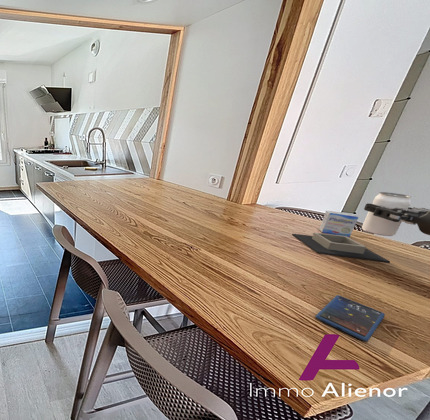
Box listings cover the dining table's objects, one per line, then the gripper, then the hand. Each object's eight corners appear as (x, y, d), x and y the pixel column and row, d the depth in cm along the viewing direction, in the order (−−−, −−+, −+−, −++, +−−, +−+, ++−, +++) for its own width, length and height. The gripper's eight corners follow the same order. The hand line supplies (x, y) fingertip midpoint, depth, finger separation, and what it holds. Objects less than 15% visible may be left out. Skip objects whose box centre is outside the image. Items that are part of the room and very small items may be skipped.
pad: (351, 241, 91) (355, 234, 90) (389, 263, 77) (394, 254, 76) (291, 234, 97) (294, 227, 96) (316, 253, 83) (320, 244, 82)
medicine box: (321, 232, 99) (329, 212, 96) (318, 229, 103) (326, 209, 100) (350, 237, 95) (359, 216, 92) (345, 233, 98) (354, 213, 95)
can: (397, 238, 70) (417, 198, 67) (363, 232, 74) (380, 194, 71) (391, 232, 75) (409, 194, 71) (358, 226, 79) (374, 190, 75)
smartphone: (315, 315, 54) (337, 294, 61) (313, 318, 54) (335, 296, 61) (368, 340, 47) (386, 313, 54) (366, 343, 48) (384, 316, 55)
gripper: (502, 213, 57) (409, 195, 73) (436, 212, 58) (358, 194, 74) (484, 242, 60) (398, 218, 75) (421, 240, 60) (348, 217, 76)
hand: (378, 206), depth 75 cm, fingers closed on can, 6 cm apart
